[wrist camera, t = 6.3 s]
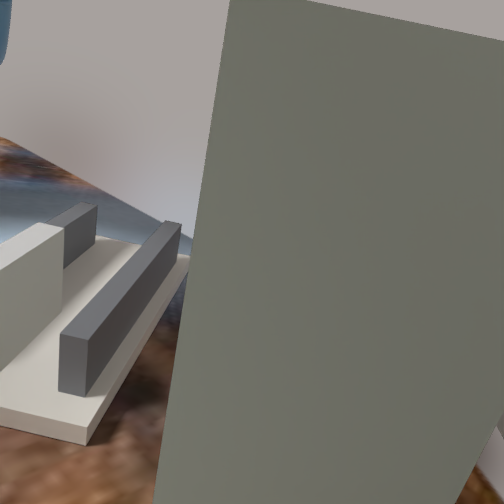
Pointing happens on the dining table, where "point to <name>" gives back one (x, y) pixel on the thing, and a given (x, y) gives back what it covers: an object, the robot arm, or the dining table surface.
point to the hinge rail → (91, 328)
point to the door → (342, 265)
